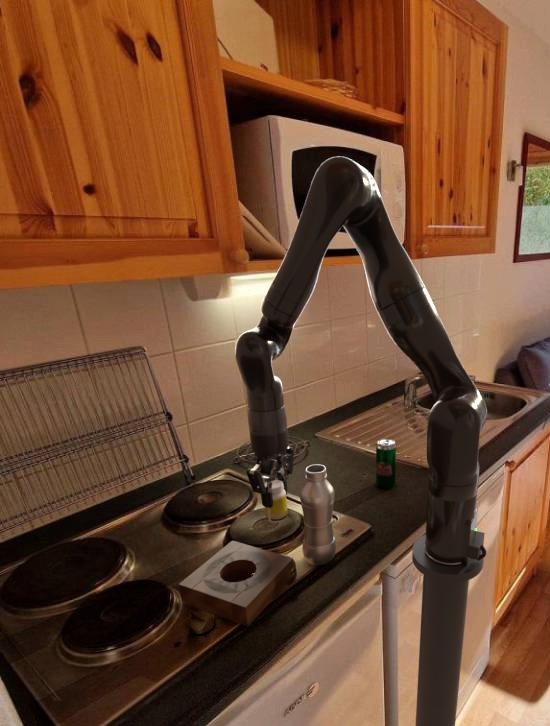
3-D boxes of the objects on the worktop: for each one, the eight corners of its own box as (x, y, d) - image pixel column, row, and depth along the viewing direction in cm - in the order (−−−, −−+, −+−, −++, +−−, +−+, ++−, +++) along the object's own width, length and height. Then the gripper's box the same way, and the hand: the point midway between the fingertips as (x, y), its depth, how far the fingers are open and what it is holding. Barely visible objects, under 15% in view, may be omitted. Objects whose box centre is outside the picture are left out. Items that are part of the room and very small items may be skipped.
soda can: (373, 487, 122) (373, 444, 118) (379, 478, 127) (380, 437, 122) (392, 490, 121) (392, 447, 116) (397, 482, 125) (398, 439, 121)
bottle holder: (294, 575, 90) (293, 558, 89) (247, 626, 78) (245, 607, 77) (234, 557, 95) (232, 540, 94) (181, 602, 83) (178, 584, 82)
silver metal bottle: (296, 559, 95) (290, 468, 87) (323, 545, 99) (319, 457, 92) (316, 574, 90) (311, 480, 83) (343, 559, 95) (341, 468, 87)
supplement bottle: (292, 515, 106) (289, 482, 102) (278, 526, 102) (274, 491, 99) (276, 510, 108) (272, 476, 105) (261, 520, 104) (257, 485, 101)
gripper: (262, 442, 89) (270, 521, 96) (302, 418, 102) (307, 489, 108) (230, 437, 92) (240, 513, 98) (273, 413, 104) (279, 483, 111)
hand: (275, 500), depth 103 cm, fingers closed on supplement bottle, 4 cm apart
